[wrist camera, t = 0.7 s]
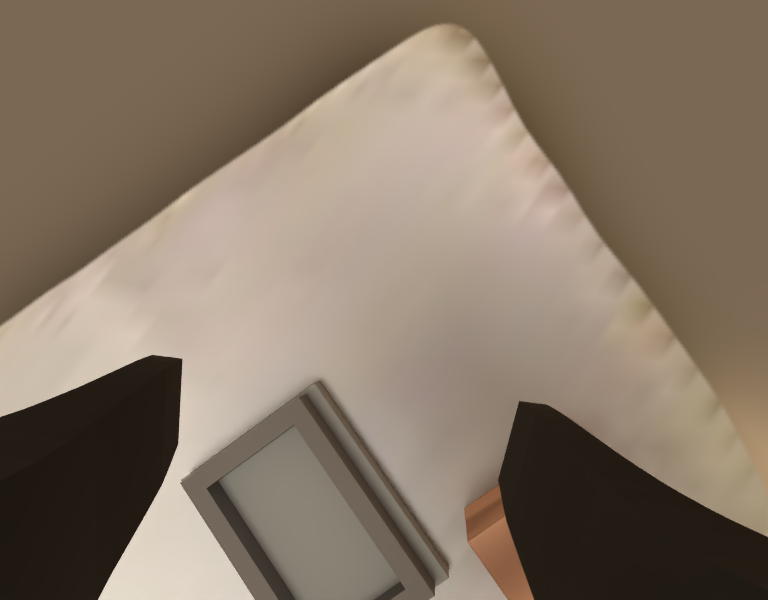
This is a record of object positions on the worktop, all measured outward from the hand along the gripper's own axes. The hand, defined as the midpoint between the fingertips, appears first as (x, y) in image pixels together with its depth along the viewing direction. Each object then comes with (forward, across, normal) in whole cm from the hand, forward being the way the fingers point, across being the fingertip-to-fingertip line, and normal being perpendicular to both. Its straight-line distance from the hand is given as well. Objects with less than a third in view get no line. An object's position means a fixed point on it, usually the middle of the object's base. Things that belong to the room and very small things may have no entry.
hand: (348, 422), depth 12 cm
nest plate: (+15, 0, +15) cm, 21 cm away
